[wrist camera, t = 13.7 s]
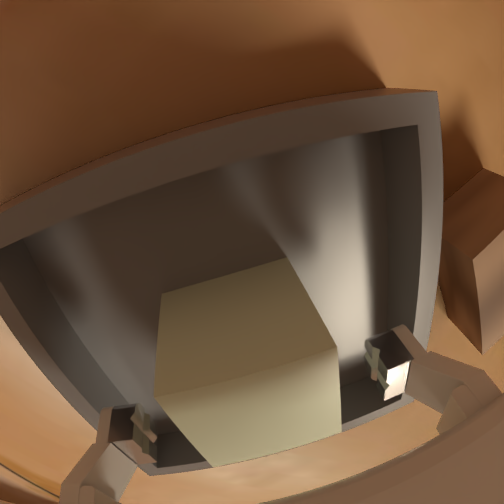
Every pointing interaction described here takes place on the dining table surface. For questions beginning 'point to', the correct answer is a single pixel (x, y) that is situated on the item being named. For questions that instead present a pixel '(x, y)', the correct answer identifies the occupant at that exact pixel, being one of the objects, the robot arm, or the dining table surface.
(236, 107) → the dining table surface
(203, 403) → the sage cube
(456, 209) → the walnut block
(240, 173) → the charcoal tray
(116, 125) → the dining table surface
